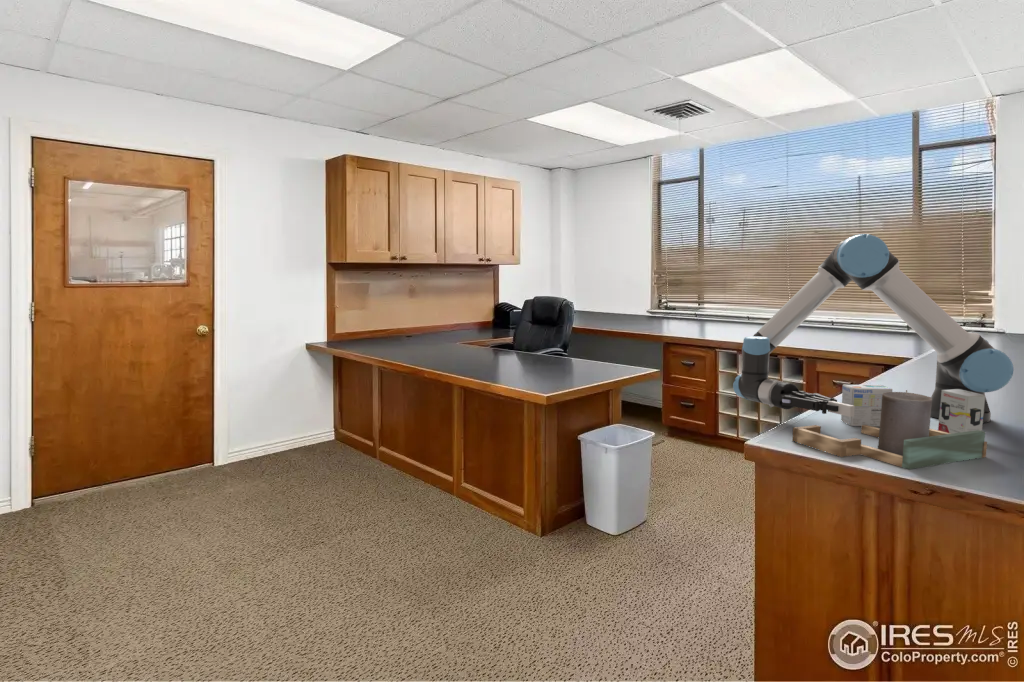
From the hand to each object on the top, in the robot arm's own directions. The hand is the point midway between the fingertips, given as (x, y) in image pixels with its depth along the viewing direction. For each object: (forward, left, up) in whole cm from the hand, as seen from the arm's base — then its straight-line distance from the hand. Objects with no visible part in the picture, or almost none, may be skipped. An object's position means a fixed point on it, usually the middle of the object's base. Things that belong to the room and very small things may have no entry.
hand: (852, 411), depth 150 cm
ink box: (-28, -7, -7) cm, 30 cm away
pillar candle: (-7, +12, -7) cm, 16 cm away
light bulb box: (-10, -18, -7) cm, 22 cm away
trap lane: (-4, +7, -7) cm, 11 cm away
